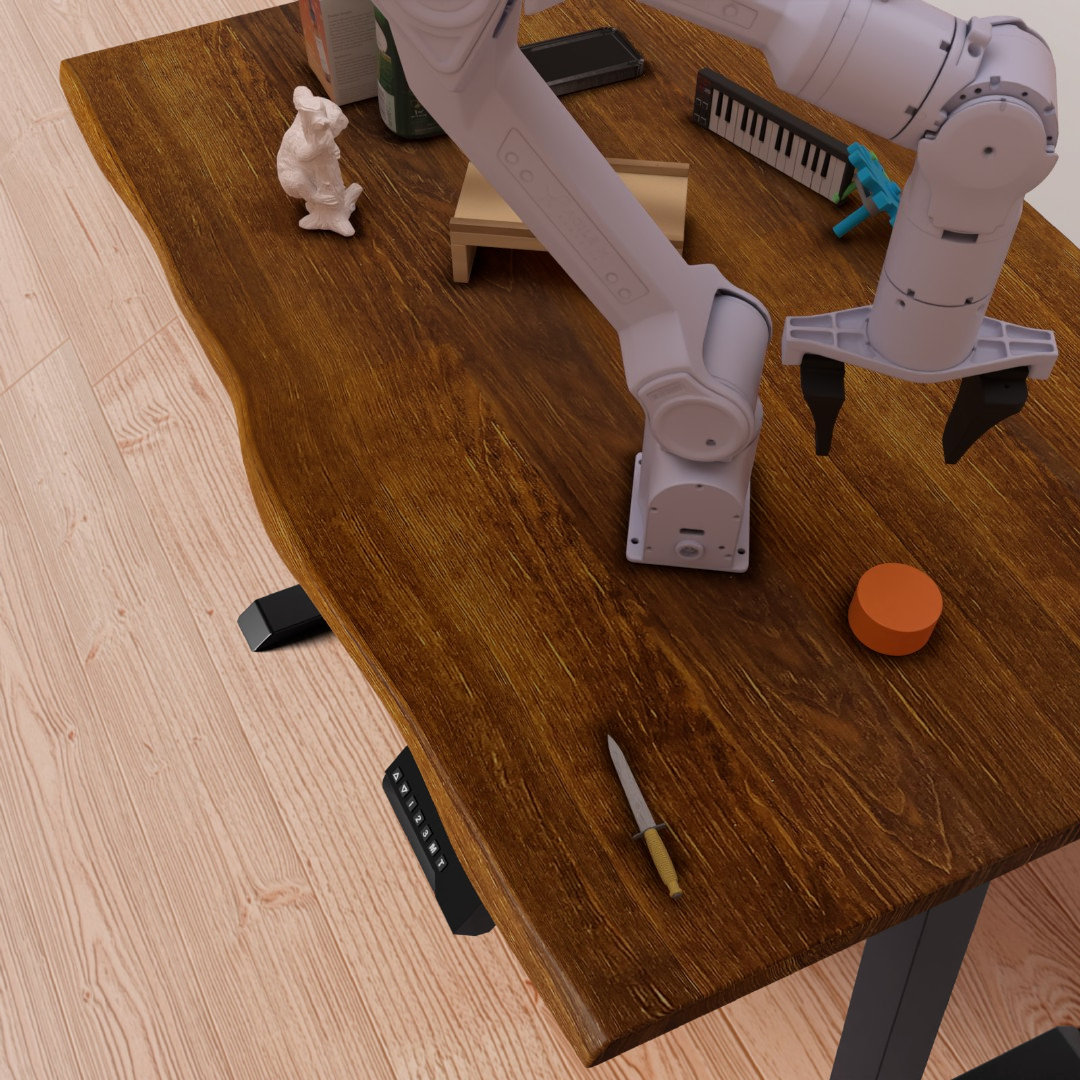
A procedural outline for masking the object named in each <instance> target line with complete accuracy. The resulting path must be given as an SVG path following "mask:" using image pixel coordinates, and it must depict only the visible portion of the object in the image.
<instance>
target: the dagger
mask: <svg viewBox="0 0 1080 1080" xmlns="http://www.w3.org/2000/svg"><path fill="white" fill-rule="evenodd" d="M607 743H608V749H609V754H610V757H611V760H612V762H613V765H614V768H615V771H616V773H617V775H618V779H619V780H620V783H621V785H622V788H623V790H624V793H625V796H626V798H627V801H628V804H629V806H630V808H631V812H632V815H633V816H634V819H635V821H636V824H637V827H638V829H639V831H640V832H638V833H636V834H634V835H633V836H632V839H633V840H637V839H641V838H644V839H645V841H646V842H645V843H646V845H647V848H648V850H649V851H648V852H649V853H650V856H651V859H652V861H653V864H654V866H655V868H656V870H657V872H658V875H659V876H660V879H661V881H662V882H663V884H664V885H665V886H666V887H667V888H668V890H669V896H670V898H672V899H674V900H677V899H680V898H681V897H682V895H683V889H682V888H681V887H680V886H679V883H678V881H679V878H678V875H677V872H676V869H675V867H674V864H673V862H672V859H671V856H670V855H669V853H668V851H667V848H666V847H665V844H664V842H663V840H662V838H661V836H660V835H659V833H658V831H660V830H661V829H664V828H665V827H667V823H666V822H662V823H659V824H657V823H656V822H655V819H654V817H653V815H652V813H651V811H650V808H649V806H648V805H647V802H646V800H645V798H644V797H643V793H642V791H641V789H640V787H639V786H638V783H637V781H636V778H635V776H634V775H633V773H632V770H631V768H630V765H629V764H628V762H627V759H626V757H625V755H624V753H623V751H622V750H621V748H620V746H619V744H618V743H616V741H615V740H614V738H613V737H612V736H611V735H609V734H607Z"/></svg>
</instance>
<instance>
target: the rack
mask: <svg viewBox="0 0 1080 1080" xmlns="http://www.w3.org/2000/svg"><path fill="white" fill-rule="evenodd" d="M604 158H605V159H606V161H607V162H608V163H609V164H610V166H611V167H612V168H613V170H614V171H615V172H616V173H617V175H618V176H619V177H620V178H621V180H622V181H623V182H624V184H625V185H626V186H627V187H628V189H629V190H630V191H631V193H632V194H633V195H634V196H635V198H636V199H637V200H638V202H639V203H640V204H641V205H642V207H643V208H644V209H645V210H646V212H647V213H648V214H649V216H650V217H651V218H652V219H653V221H654V222H655V223H656V225H657V226H658V227H659V228H660V230H661V231H662V232H663V234H664V235H665V236H666V237H667V239H668V240H669V241H670V242H671V244H672V245H673V246H674V248H675V249H676V250H677V251H678V253H679V254H680V255H681V257H682V258H683V249H684V241H685V226H686V225H685V224H686V212H687V210H686V209H687V201H688V200H687V199H688V186H689V174H690V173H689V172H690V163H687V162H672V161H661V160H660V161H659V160H646V159H645V160H644V159H631V158H630V159H629V158H618V157H617V158H616V157H604ZM453 215H454V216H450V219H449V223H448V225H449V237H450V249H451V250H450V251H451V264H452V275H453V282H454V283H463V284H469V281H470V277H471V273H472V269H473V265H474V262H475V258H476V253H477V248H478V247H486V248H501V249H513V250H526V251H537V252H538V251H539V252H548V251H547V249H546V248H545V247H544V246H543V245H542V244H541V242H540V241H539V240H538V239H537V238H536V237H535V235H534V234H533V233H532V232H531V231H530V230H529V228H528V227H527V226H526V225H525V224H524V223H523V222H522V220H521V219H520V218H519V217H518V216H517V215H516V213H515V212H514V211H513V210H512V209H511V208H510V206H509V205H508V204H507V203H506V202H505V201H504V199H503V198H502V197H501V196H500V195H499V194H498V192H497V191H496V190H495V189H494V188H493V187H492V186H491V184H490V183H489V182H488V181H487V180H486V179H485V177H484V176H483V175H482V174H481V173H480V172H479V170H478V169H477V168H476V167H475V166H474V165H473V163H472V162H471V161H470V160H469V159H468V165H467V168H466V171H465V174H464V179H463V183H462V186H461V191H460V193H459V196H458V200H457V203H456V208H455V212H454V214H453Z"/></svg>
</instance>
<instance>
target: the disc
mask: <svg viewBox="0 0 1080 1080" xmlns="http://www.w3.org/2000/svg"><path fill="white" fill-rule="evenodd" d="M856 585H857V586H856V588H855V591H854V593H853V597H852V599H851V601H850V605H849V607H848V610H847V619H848V623H849V627H850V630H851V631H852V633H853V634H854V636H855V637H856V638H857V639H858V641H859V642H861V643H862V644H863V645H864V646H865V647H867V648H869V649H870V650H872V651H874V652H877V653H879V654H881V655H882V654H883V655H886V656H895V657H901V656H907V655H910V654H914V653H915V652H918V651H919V650H921V649H922V648H923V647H924V646H926V644H927V643H928V641H929V639H930V638H931V635H932V634H933V631H934V630H935V628H936V625H937V623H938V621H939V619H940V617H941V615H942V611H943V606H944V601H943V596H942V593H941V591H940V589H939V586H938V585H937V584H936V583H935V581H934V580H933V579H932V578H931V577H930V576H929V575H928V574H926V573H925V572H923V571H922V570H920V569H918V568H916V567H914V566H911V565H909V564H904V563H901V562H900V563H898V562H885V563H880V564H877V565H875V566H873V567H870V568H869V569H868V570H866V571H865V572H864V573H863V574H862V575H861V577H860V578H859V580H858V583H857V584H856Z"/></svg>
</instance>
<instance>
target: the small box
mask: <svg viewBox="0 0 1080 1080" xmlns="http://www.w3.org/2000/svg"><path fill="white" fill-rule="evenodd" d="M297 1H298V2H297V3H298V7H299V8H298V9H299V13H300V20H301V27H302V32H303V38H304V44H305V50H306V56H307V62H308V66H309V68H310V69H311V71H312V72H313V73H314V75H315V76H316V78H317V80H318V81H319V82H320V85H321V86H322V87H323V89H324V91H325V92H326V94H327V96H328V97H329V100H330V101H332V102H333V103H335V104H336V105H338V106H339V107H341V106H344V105H348V104H352V103H355V102H360V101H364V100H369V99H372V98H375V97H378V86H377V43H376V23H375V13H374V5H373V2H372V1H371V0H297Z"/></svg>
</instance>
